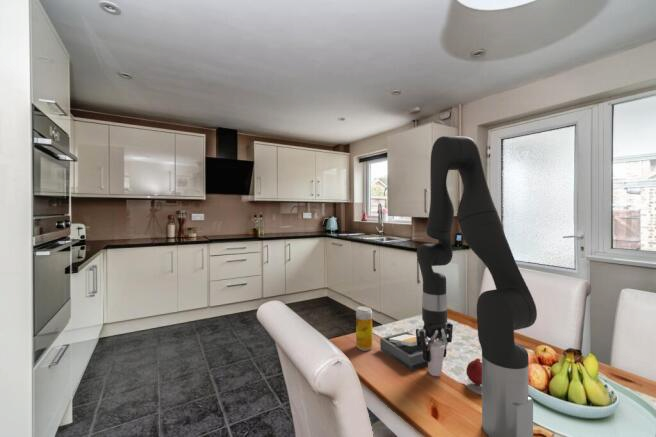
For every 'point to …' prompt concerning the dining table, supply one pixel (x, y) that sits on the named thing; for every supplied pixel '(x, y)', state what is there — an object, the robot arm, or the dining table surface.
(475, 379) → the onion
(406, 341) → the plate
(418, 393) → the dining table surface
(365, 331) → the glass of beer
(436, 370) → the smoothie
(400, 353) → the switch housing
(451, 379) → the dining table surface
